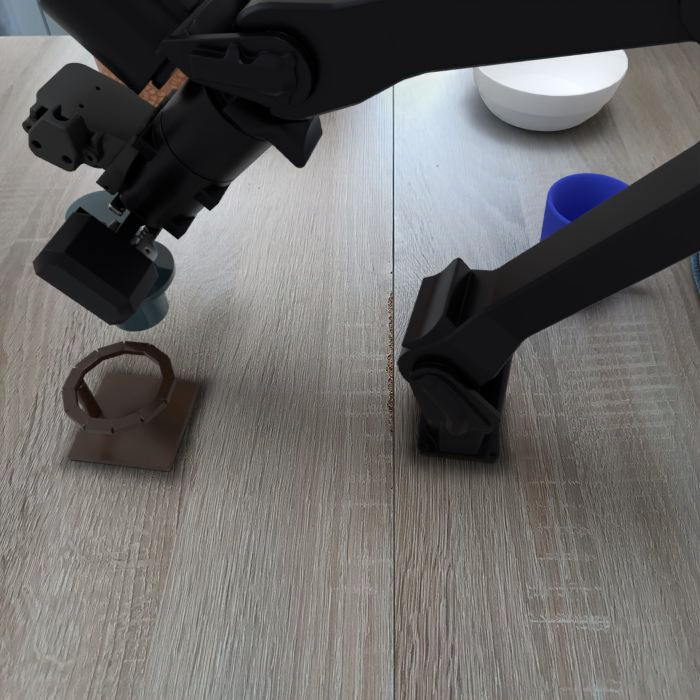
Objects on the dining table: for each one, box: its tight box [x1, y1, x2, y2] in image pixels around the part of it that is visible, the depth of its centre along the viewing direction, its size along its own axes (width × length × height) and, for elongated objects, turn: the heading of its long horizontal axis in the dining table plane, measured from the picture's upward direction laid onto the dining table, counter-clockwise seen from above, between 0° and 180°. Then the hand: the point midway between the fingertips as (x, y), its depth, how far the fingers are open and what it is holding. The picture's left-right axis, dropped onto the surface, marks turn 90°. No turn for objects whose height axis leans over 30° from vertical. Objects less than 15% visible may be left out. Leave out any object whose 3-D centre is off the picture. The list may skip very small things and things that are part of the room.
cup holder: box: [61, 340, 201, 472], centre depth 54 cm, size 9×9×6 cm
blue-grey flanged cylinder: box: [64, 189, 177, 333], centre depth 51 cm, size 8×8×10 cm
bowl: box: [472, 49, 629, 132], centre depth 81 cm, size 18×18×7 cm
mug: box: [539, 172, 630, 242], centre depth 61 cm, size 8×12×10 cm
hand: (100, 248), depth 50 cm, fingers closed on blue-grey flanged cylinder, 5 cm apart
